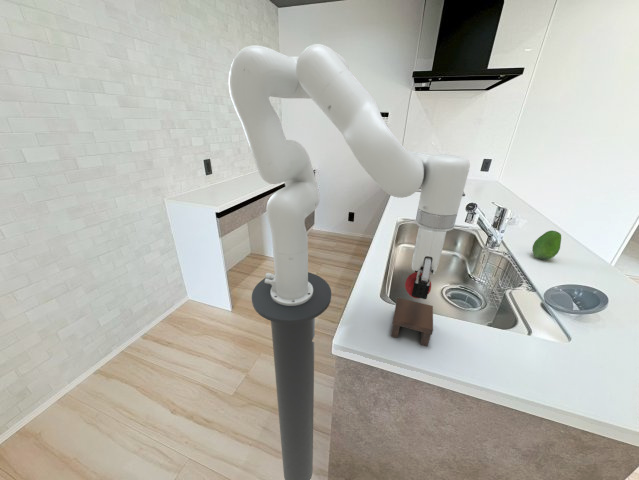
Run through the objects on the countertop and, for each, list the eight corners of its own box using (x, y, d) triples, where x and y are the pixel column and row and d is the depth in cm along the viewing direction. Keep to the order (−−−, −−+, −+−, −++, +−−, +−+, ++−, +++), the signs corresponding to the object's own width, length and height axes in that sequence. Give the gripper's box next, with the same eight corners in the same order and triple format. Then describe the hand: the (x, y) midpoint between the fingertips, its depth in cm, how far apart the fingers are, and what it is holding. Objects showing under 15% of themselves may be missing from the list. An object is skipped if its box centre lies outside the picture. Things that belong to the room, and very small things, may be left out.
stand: (390, 336, 65) (393, 319, 62) (394, 313, 72) (397, 297, 70) (428, 347, 62) (433, 330, 59) (428, 321, 69) (432, 305, 67)
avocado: (558, 264, 98) (572, 235, 93) (535, 262, 99) (547, 233, 94) (546, 254, 105) (558, 227, 100) (524, 252, 106) (535, 225, 101)
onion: (425, 308, 59) (433, 280, 56) (400, 300, 62) (405, 272, 58) (429, 295, 64) (436, 267, 60) (405, 288, 66) (411, 261, 63)
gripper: (418, 203, 62) (405, 267, 70) (414, 230, 47) (399, 307, 55) (452, 207, 60) (435, 273, 67) (459, 237, 45) (437, 316, 53)
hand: (419, 288), depth 61 cm, fingers closed on onion, 5 cm apart
